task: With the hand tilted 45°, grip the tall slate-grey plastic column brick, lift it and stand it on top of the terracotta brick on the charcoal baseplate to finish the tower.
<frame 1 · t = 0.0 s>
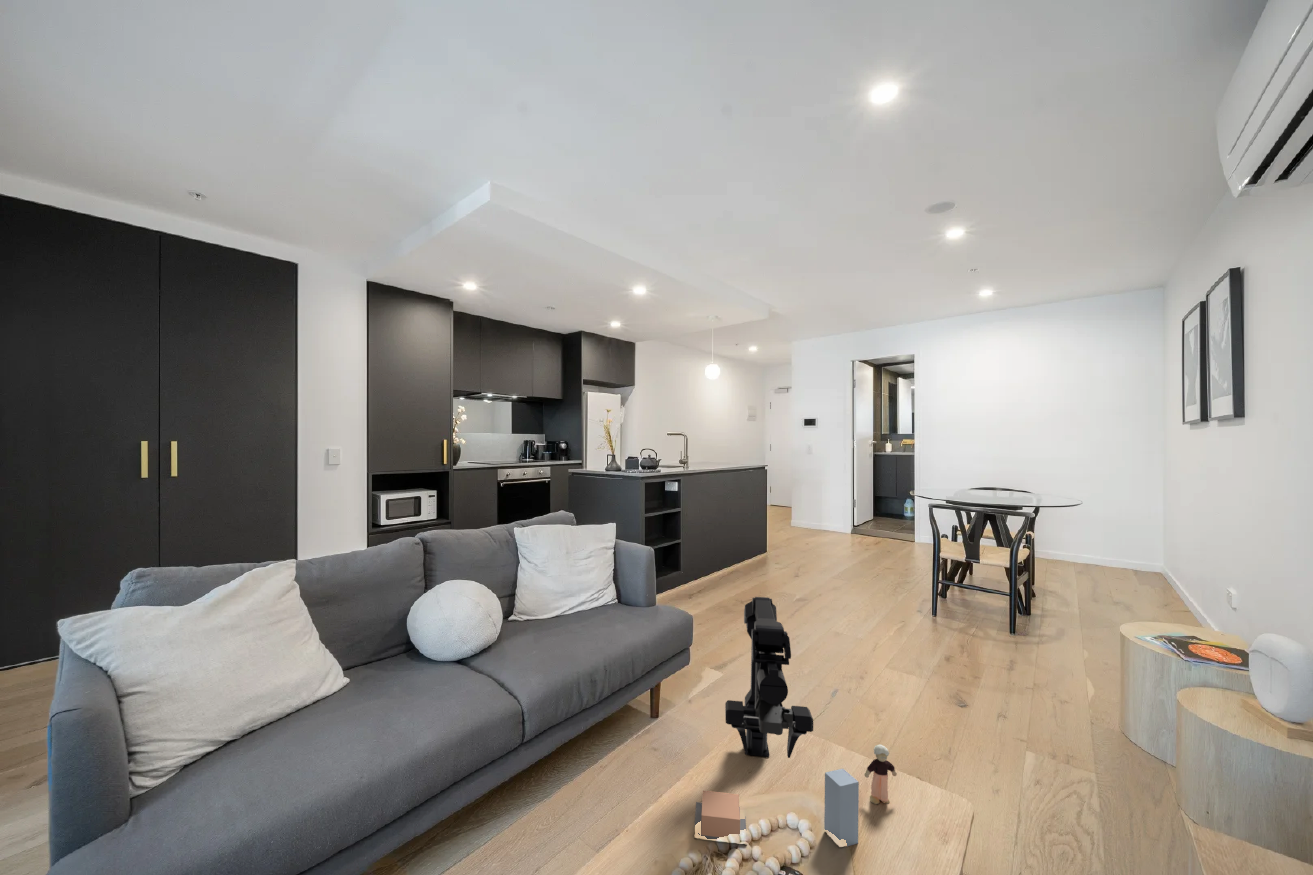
hand: (767, 754, 111), 15 cm above the table, tool pointing down, fingers open, 9 cm apart
tower base: (720, 828, 108), on the table
grandmother figurine: (881, 800, 119), on the table
slate column brick: (841, 837, 106), on the table
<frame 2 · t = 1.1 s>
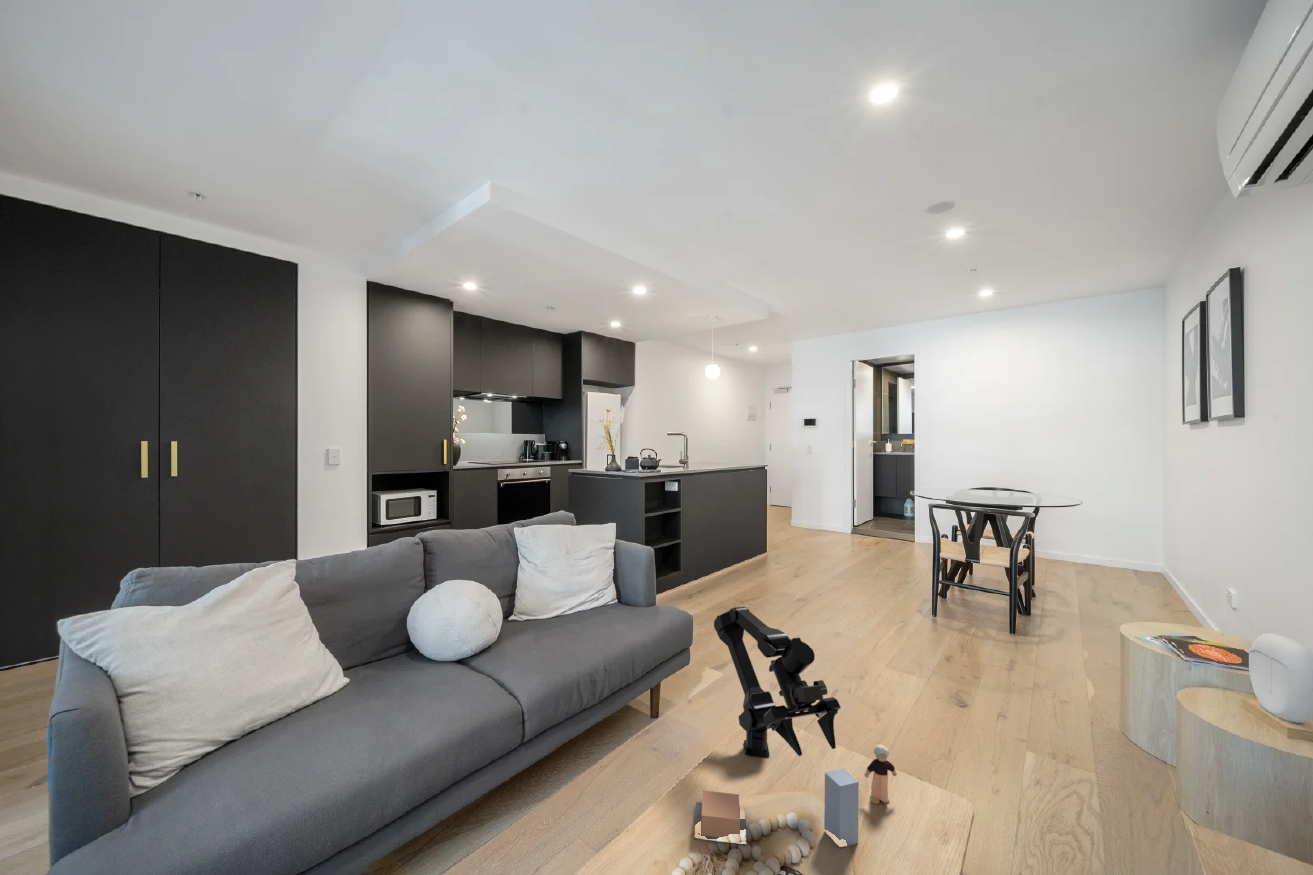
hand: (817, 751, 114), 13 cm above the table, tool tilted 45°, fingers open, 9 cm apart
nothing on the table moved.
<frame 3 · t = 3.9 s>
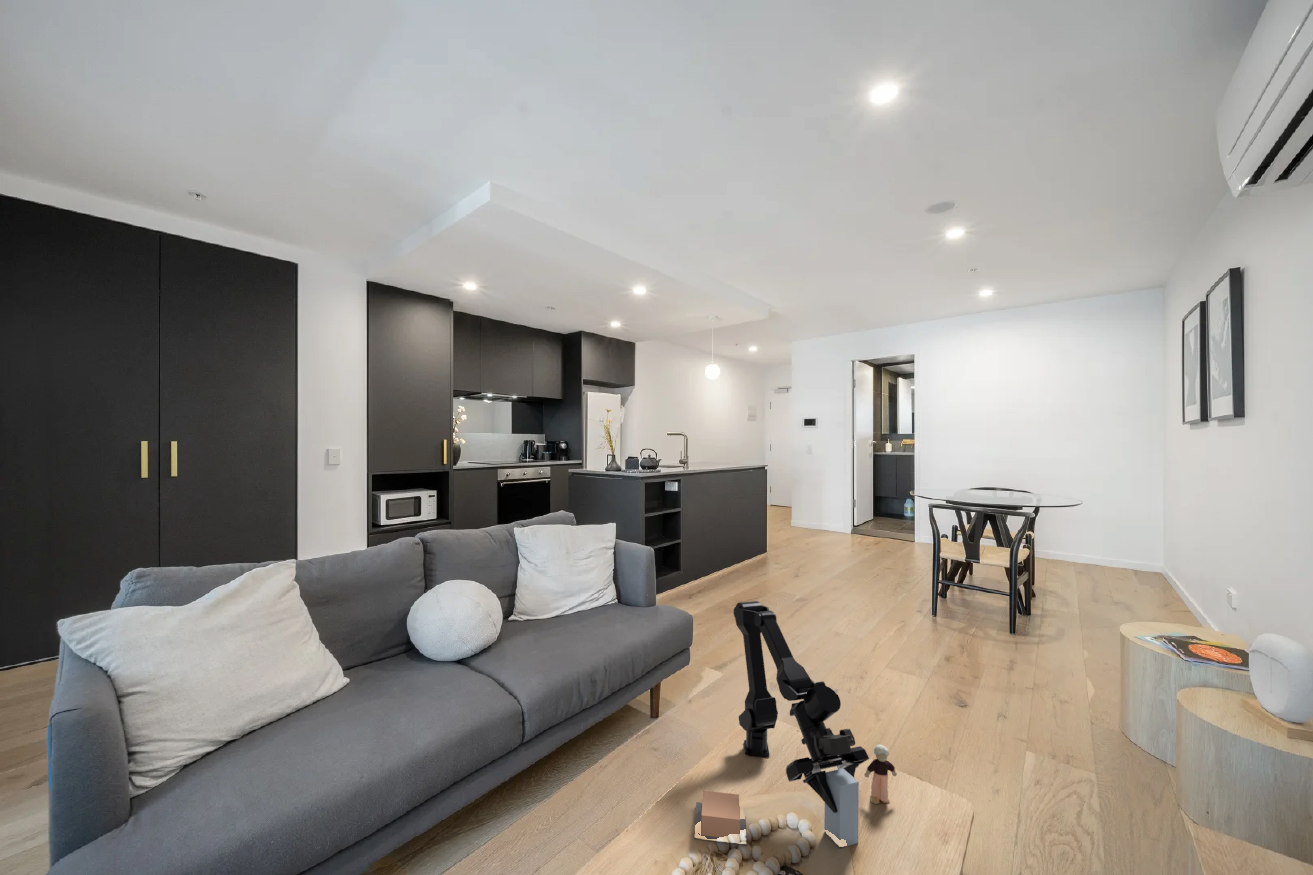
hand: (845, 809, 105), 7 cm above the table, tool tilted 45°, fingers closed on slate column brick, 5 cm apart
slate column brick: (841, 837, 106), on the table, touching gripper
everything else where it was.
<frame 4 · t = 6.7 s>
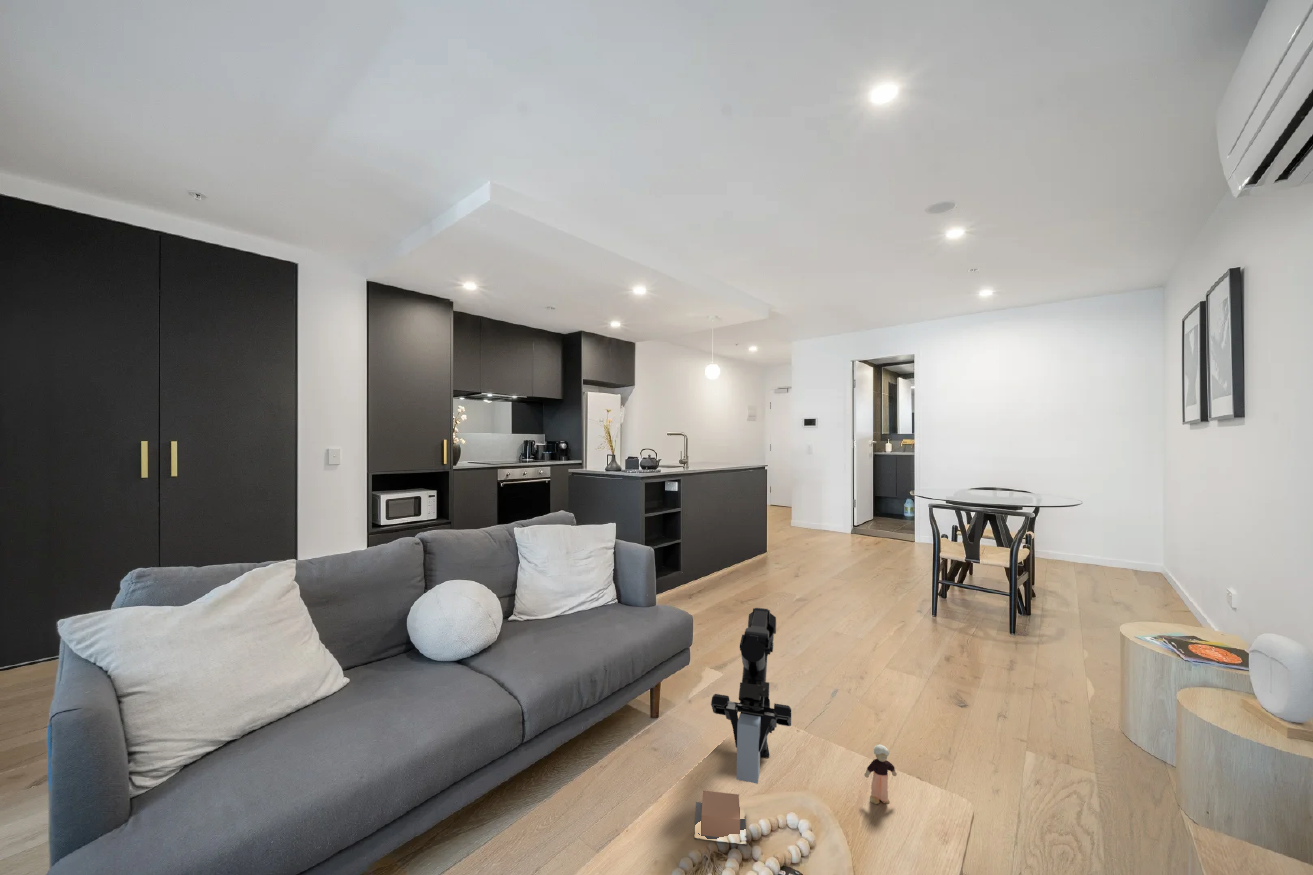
hand: (747, 749, 115), 14 cm above the table, tool tilted 45°, fingers closed on slate column brick, 5 cm apart
slate column brick: (748, 775, 115), point 7 cm above the table, touching gripper
everything else where it was.
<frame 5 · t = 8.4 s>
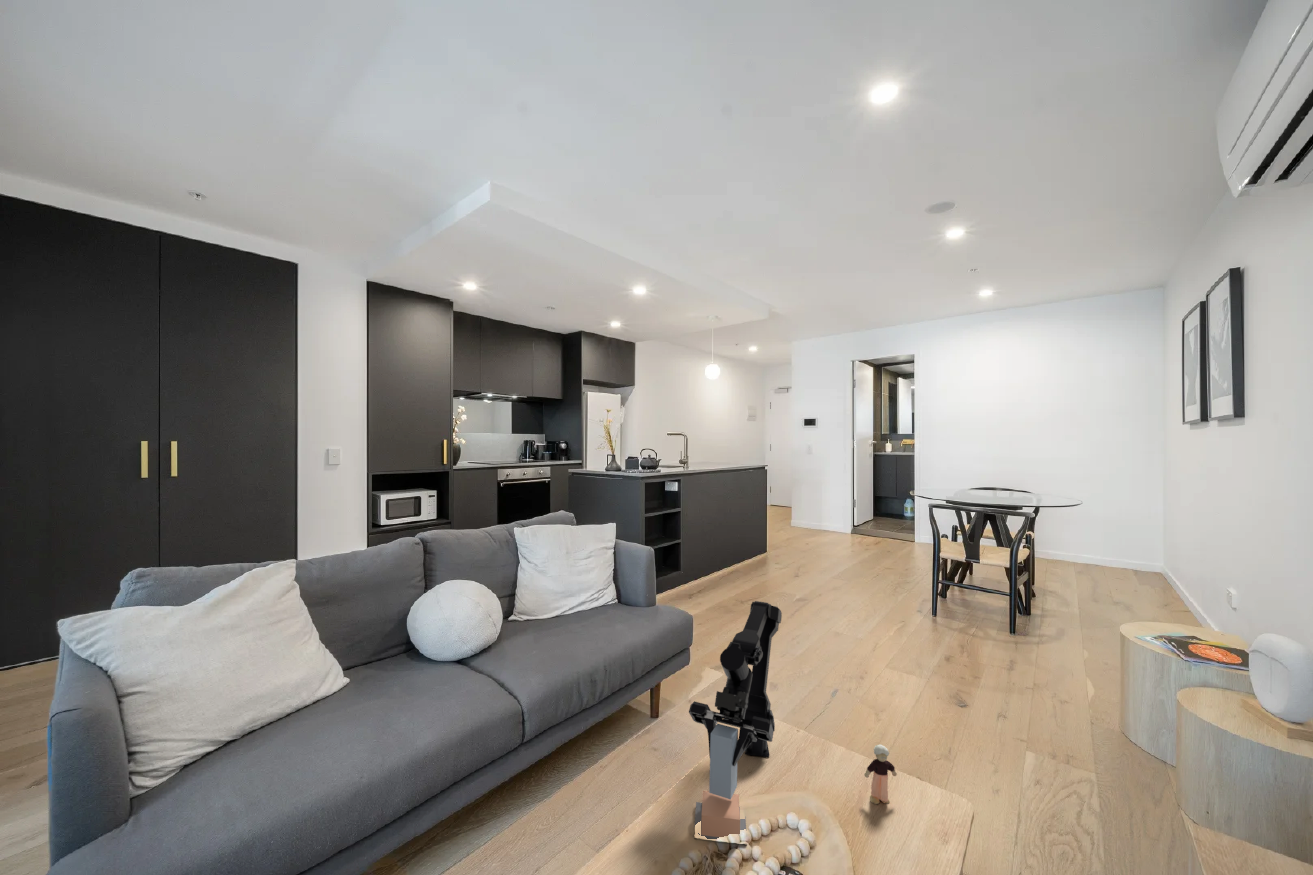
hand: (721, 761, 109), 14 cm above the table, tool tilted 45°, fingers closed on slate column brick, 5 cm apart
slate column brick: (723, 789, 110), point 7 cm above the table, touching gripper
everything else where it was.
when the fingers open (12 cm above the table, at t = 9.6 s): slate column brick stays where it is, resting on tower base.
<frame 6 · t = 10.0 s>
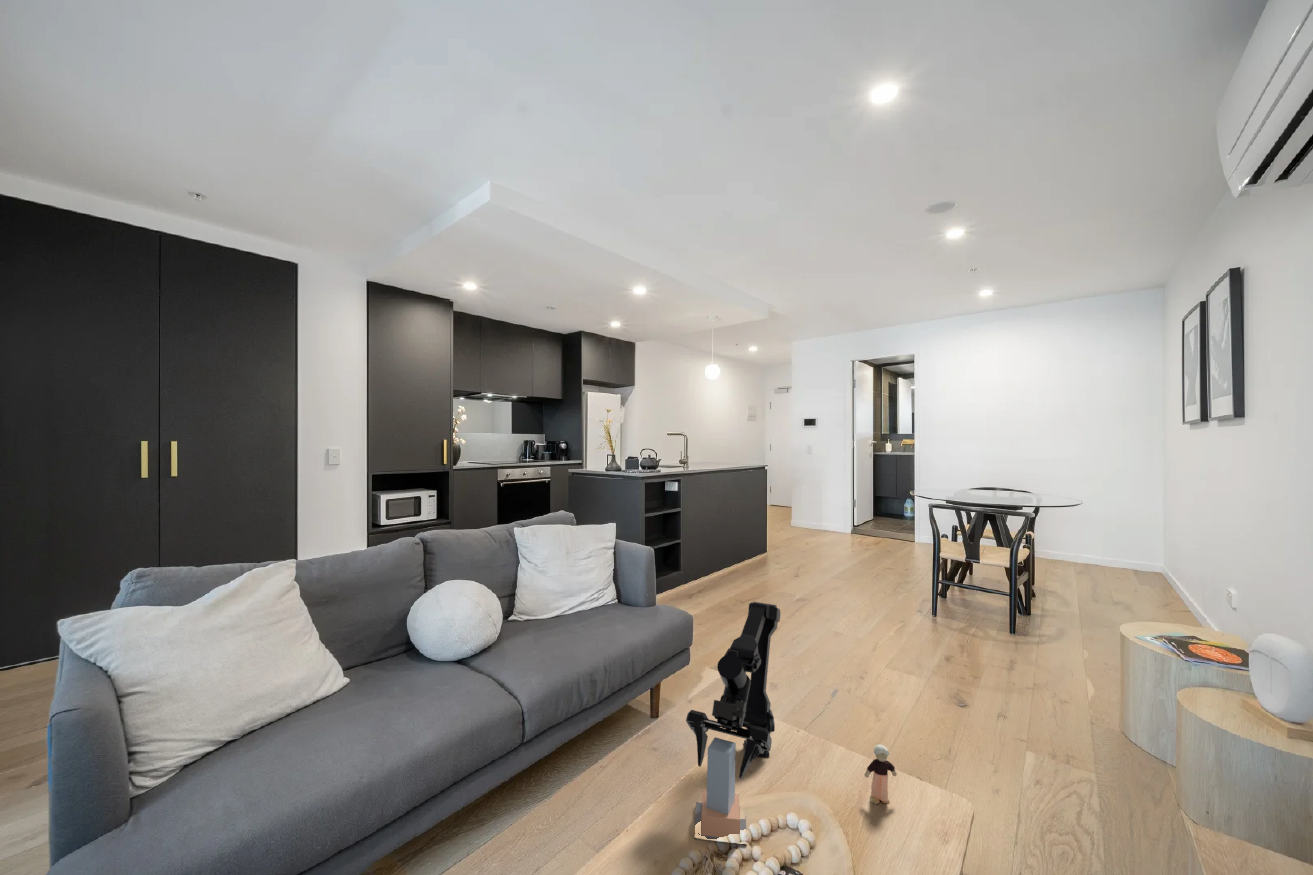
hand: (719, 772, 107), 13 cm above the table, tool tilted 45°, fingers open, 9 cm apart
slate column brick: (720, 804, 108), point 5 cm above the table, touching tower base
everything else where it was.
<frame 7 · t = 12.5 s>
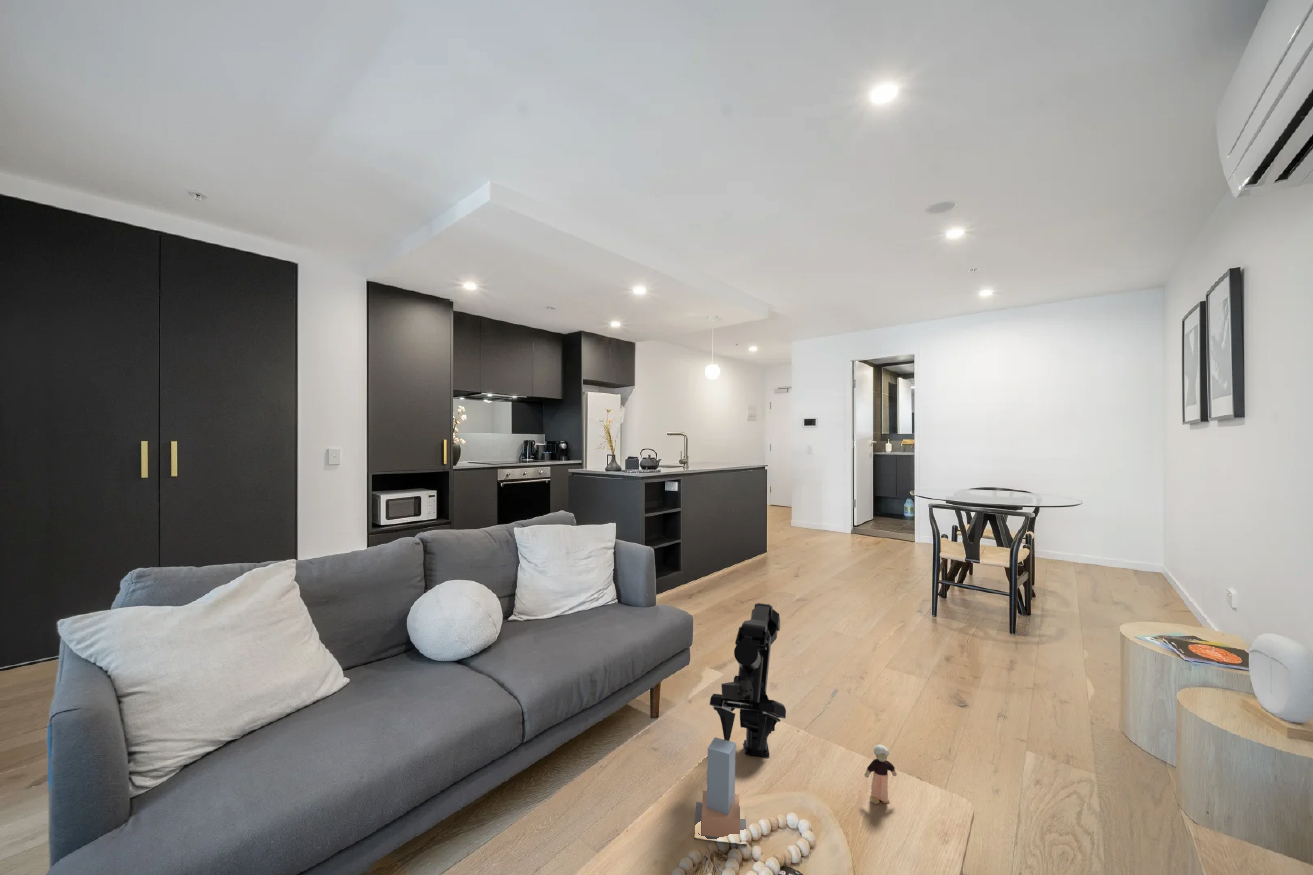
hand: (742, 745, 117), 13 cm above the table, tool tilted 35°, fingers open, 9 cm apart
nothing on the table moved.
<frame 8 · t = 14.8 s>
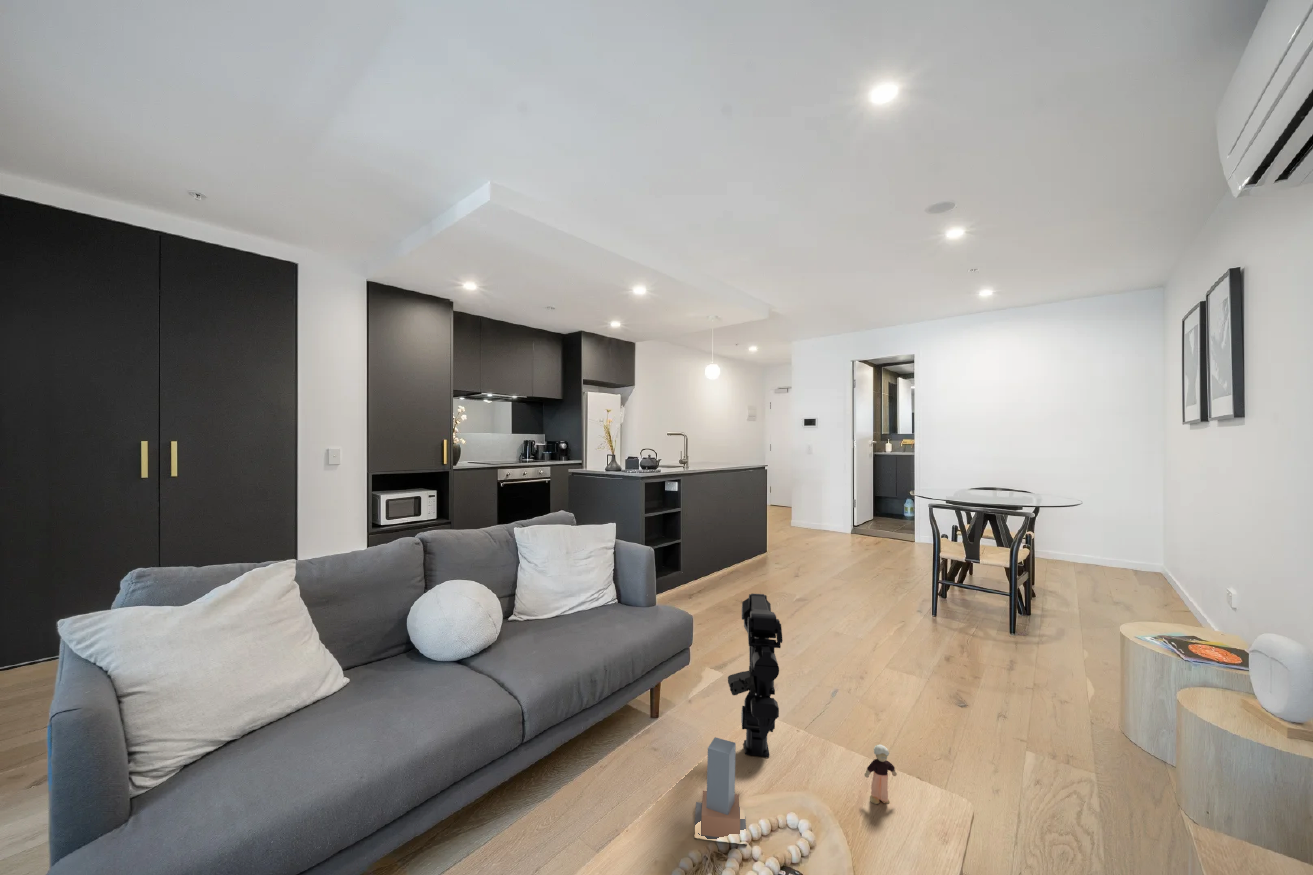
hand: (761, 728, 125), 13 cm above the table, tool pointing down, fingers open, 9 cm apart
nothing on the table moved.
at the end: slate column brick 0.1 cm off-centre on the tower base, point 5.0 cm above the tower base's base; slate column brick tilted 0°; the gripper is holding nothing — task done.
